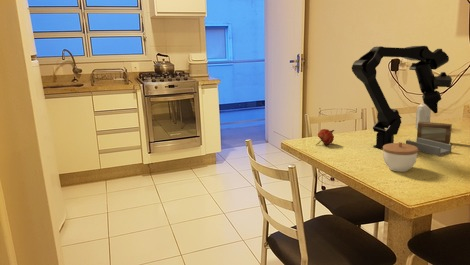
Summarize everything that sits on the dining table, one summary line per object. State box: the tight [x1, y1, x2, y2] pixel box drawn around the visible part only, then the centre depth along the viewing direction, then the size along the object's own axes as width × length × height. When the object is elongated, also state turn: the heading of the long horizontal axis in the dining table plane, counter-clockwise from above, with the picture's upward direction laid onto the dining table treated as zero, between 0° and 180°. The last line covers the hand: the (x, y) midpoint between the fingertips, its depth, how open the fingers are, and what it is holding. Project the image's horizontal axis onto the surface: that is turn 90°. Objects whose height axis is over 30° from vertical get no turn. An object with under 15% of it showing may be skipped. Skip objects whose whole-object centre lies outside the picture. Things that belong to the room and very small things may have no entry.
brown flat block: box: [416, 121, 453, 144], centre depth 145 cm, size 3×12×8 cm, turn 51°
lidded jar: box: [382, 141, 419, 173], centre depth 117 cm, size 11×11×9 cm
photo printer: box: [415, 102, 432, 130], centre depth 168 cm, size 10×4×12 cm, turn 134°
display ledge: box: [405, 137, 453, 157], centre depth 136 cm, size 7×14×3 cm, turn 26°
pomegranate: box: [315, 128, 335, 146], centre depth 151 cm, size 7×7×10 cm
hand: (434, 108), depth 145 cm, fingers open, 9 cm apart
